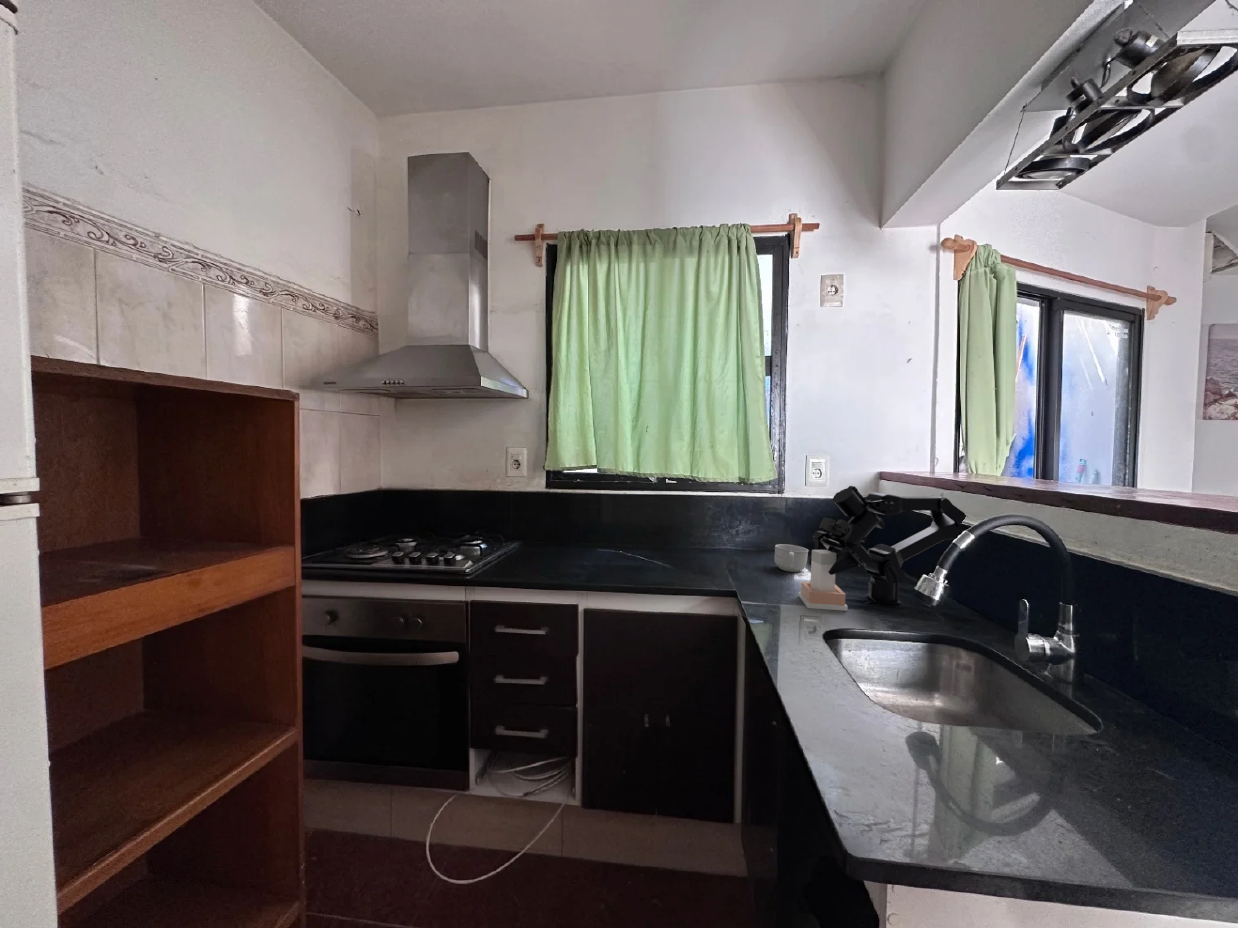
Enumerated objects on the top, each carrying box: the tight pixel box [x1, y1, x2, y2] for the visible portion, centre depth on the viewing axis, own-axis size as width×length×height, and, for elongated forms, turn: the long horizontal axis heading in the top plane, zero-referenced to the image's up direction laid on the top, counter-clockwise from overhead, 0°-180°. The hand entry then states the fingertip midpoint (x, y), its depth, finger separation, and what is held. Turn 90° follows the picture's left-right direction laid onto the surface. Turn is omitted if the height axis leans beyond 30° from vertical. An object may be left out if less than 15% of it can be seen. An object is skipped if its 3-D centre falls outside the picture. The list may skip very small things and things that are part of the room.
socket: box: [798, 581, 849, 612], centre depth 127 cm, size 10×10×4 cm
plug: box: [810, 549, 837, 592], centre depth 127 cm, size 4×4×13 cm
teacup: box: [774, 543, 809, 573], centre depth 159 cm, size 14×11×8 cm
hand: (819, 568), depth 127 cm, fingers open, 9 cm apart
